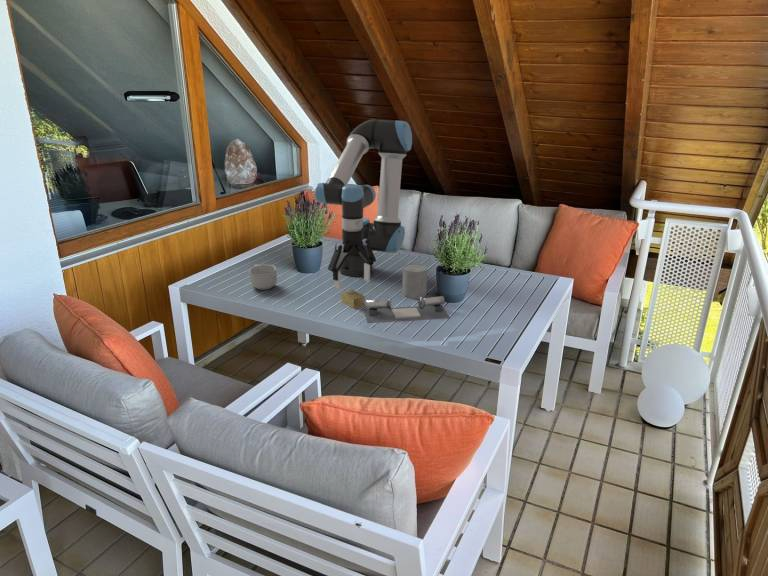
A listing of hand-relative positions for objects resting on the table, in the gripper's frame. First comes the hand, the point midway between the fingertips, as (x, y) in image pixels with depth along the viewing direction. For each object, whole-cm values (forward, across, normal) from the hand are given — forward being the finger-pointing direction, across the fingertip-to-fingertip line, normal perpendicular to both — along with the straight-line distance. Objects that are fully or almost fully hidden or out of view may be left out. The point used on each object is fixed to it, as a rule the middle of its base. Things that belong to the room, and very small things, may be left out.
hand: (352, 284), depth 215 cm
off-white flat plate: (+8, +10, -19) cm, 23 cm away
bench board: (+9, +10, -19) cm, 23 cm away
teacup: (+9, -16, +40) cm, 44 cm away
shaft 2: (+8, +20, -22) cm, 31 cm away
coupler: (+9, 0, 0) cm, 9 cm away
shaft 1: (+8, +2, -13) cm, 15 cm away
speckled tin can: (+9, +25, -7) cm, 28 cm away
